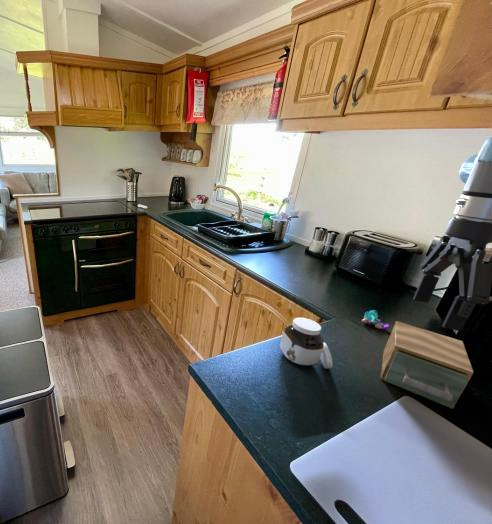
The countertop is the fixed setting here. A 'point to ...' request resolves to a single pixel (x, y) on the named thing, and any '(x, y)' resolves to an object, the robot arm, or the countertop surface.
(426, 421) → the countertop surface
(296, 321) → the spread jar
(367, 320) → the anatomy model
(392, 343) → the cabinet
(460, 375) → the drawer
